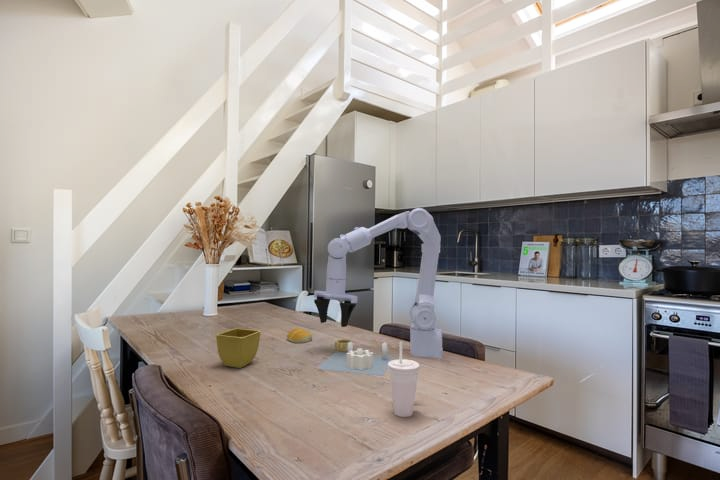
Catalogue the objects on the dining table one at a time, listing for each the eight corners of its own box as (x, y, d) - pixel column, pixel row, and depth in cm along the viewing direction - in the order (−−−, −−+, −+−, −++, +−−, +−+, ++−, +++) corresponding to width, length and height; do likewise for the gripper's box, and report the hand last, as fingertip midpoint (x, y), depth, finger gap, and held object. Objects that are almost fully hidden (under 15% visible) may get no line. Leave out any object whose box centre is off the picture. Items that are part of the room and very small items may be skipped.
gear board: (395, 361, 107) (395, 341, 107) (382, 380, 92) (382, 357, 92) (336, 355, 112) (336, 336, 113) (315, 373, 97) (315, 351, 97)
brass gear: (355, 350, 118) (355, 340, 118) (349, 355, 113) (349, 344, 113) (338, 349, 119) (338, 338, 119) (332, 354, 114) (332, 343, 114)
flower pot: (261, 362, 106) (261, 330, 107) (242, 371, 98) (242, 337, 98) (235, 358, 109) (235, 328, 109) (214, 368, 101) (215, 334, 101)
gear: (375, 363, 102) (375, 350, 102) (368, 371, 95) (368, 357, 95) (351, 360, 104) (351, 348, 104) (343, 368, 97) (343, 355, 97)
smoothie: (385, 406, 77) (385, 338, 78) (415, 405, 78) (415, 337, 78) (390, 420, 71) (390, 346, 71) (423, 419, 71) (423, 346, 72)
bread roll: (296, 345, 125) (296, 333, 125) (283, 340, 132) (283, 328, 132) (317, 341, 131) (317, 329, 131) (303, 336, 137) (303, 325, 137)
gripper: (308, 277, 112) (306, 322, 112) (349, 281, 104) (346, 330, 104) (323, 276, 118) (320, 319, 118) (362, 280, 110) (359, 326, 110)
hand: (333, 324), depth 111 cm, fingers open, 7 cm apart
